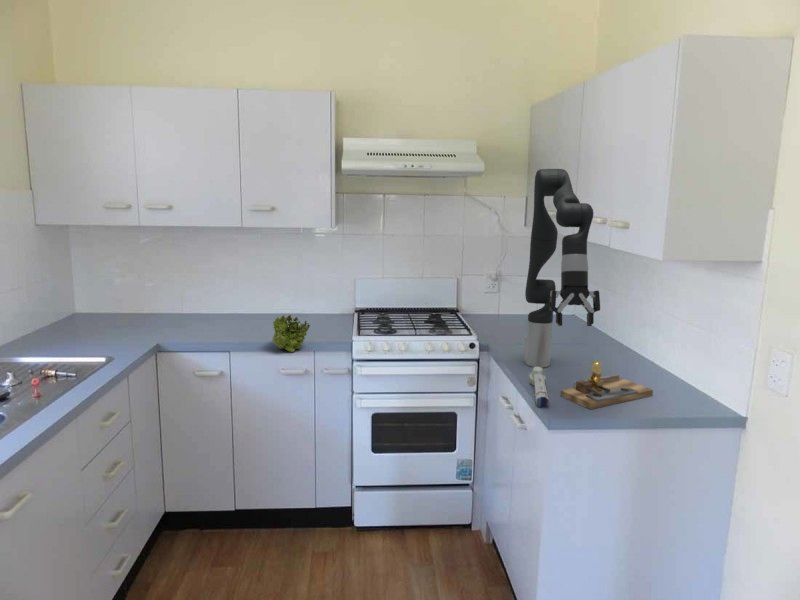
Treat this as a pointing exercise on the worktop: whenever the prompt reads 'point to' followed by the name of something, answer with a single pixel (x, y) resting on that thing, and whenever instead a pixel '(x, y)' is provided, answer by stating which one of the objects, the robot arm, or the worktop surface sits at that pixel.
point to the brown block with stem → (585, 387)
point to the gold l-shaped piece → (597, 376)
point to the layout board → (608, 393)
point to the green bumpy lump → (289, 333)
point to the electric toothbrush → (539, 387)
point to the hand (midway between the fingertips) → (574, 326)
